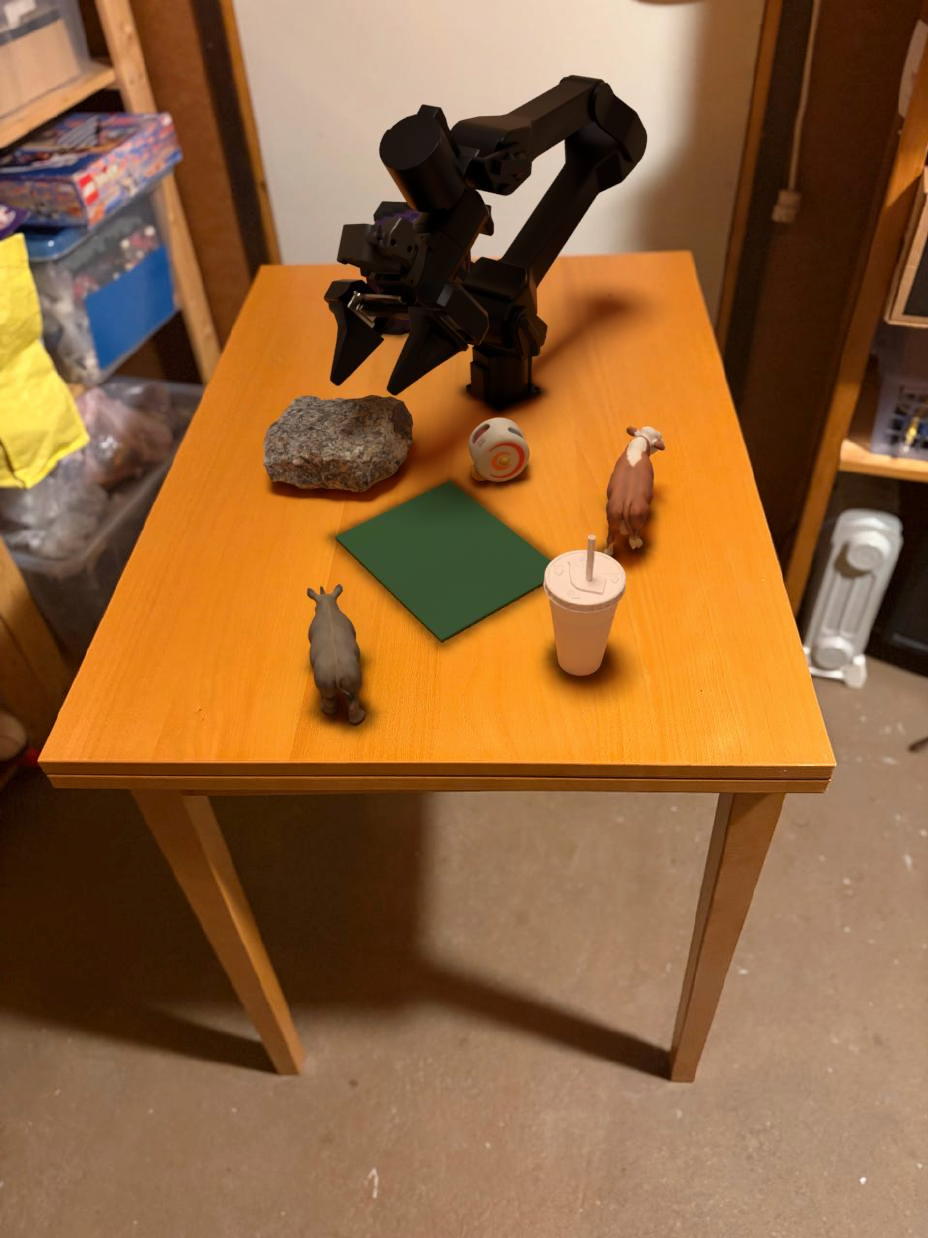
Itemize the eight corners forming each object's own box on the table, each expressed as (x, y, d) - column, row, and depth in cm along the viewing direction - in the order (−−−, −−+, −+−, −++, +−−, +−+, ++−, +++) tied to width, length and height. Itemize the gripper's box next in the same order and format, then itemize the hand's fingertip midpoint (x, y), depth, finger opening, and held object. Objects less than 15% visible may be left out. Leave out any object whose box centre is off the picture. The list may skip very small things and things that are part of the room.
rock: (256, 495, 97) (396, 510, 95) (244, 445, 92) (391, 460, 90) (294, 424, 105) (423, 436, 103) (285, 374, 101) (419, 387, 98)
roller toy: (534, 480, 96) (534, 434, 92) (474, 491, 96) (472, 444, 91) (522, 456, 99) (522, 410, 95) (465, 467, 99) (462, 420, 94)
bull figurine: (663, 486, 95) (673, 418, 89) (636, 572, 86) (645, 503, 80) (621, 479, 96) (628, 411, 90) (590, 563, 87) (595, 494, 81)
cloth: (449, 482, 97) (449, 480, 97) (563, 573, 86) (563, 570, 86) (335, 538, 91) (334, 536, 91) (441, 642, 81) (441, 640, 81)
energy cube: (391, 289, 128) (382, 200, 119) (476, 294, 126) (473, 204, 117) (368, 332, 120) (356, 240, 111) (458, 338, 118) (453, 244, 109)
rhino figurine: (351, 606, 85) (342, 556, 80) (373, 721, 75) (364, 673, 71) (306, 614, 84) (295, 564, 80) (322, 731, 75) (310, 683, 70)
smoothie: (567, 699, 76) (574, 573, 66) (527, 648, 80) (528, 523, 70) (632, 669, 78) (648, 543, 68) (590, 622, 82) (600, 496, 72)
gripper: (323, 190, 88) (245, 331, 87) (449, 177, 75) (359, 343, 74) (400, 265, 96) (329, 395, 95) (525, 266, 83) (445, 417, 82)
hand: (361, 388), depth 86 cm, fingers open, 9 cm apart
